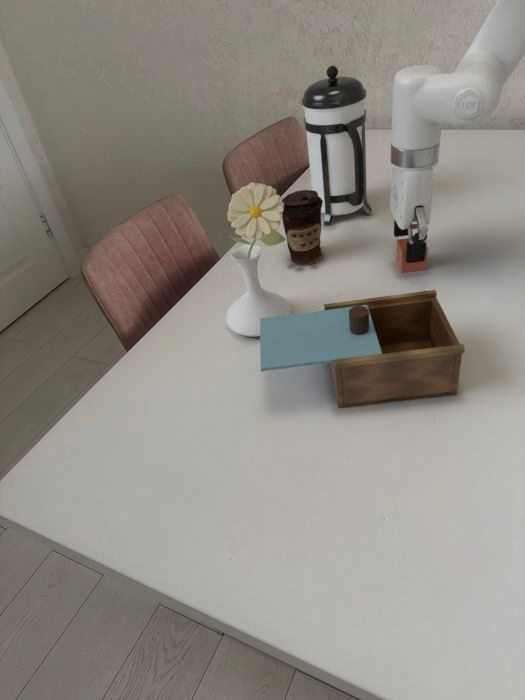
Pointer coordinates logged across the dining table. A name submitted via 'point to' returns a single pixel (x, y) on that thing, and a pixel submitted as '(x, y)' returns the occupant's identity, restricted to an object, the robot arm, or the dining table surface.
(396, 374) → the wooden box
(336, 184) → the coffee press
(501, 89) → the robot arm
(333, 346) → the sliding box lid
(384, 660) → the dining table surface
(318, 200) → the coffee cup
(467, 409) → the dining table surface
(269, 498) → the dining table surface
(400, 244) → the block
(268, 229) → the flower in vase
